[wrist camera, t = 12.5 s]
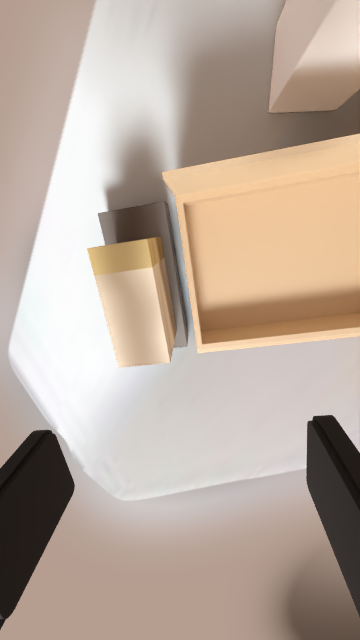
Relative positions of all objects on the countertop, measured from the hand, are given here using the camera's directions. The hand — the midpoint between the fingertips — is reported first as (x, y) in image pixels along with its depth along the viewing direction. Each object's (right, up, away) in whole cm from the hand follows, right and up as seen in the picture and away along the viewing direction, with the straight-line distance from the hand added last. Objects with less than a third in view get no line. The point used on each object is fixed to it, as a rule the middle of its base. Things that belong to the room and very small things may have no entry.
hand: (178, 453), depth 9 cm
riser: (-3, +10, +20) cm, 22 cm away
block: (-3, +8, +17) cm, 19 cm away
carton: (+12, +11, +18) cm, 24 cm away
